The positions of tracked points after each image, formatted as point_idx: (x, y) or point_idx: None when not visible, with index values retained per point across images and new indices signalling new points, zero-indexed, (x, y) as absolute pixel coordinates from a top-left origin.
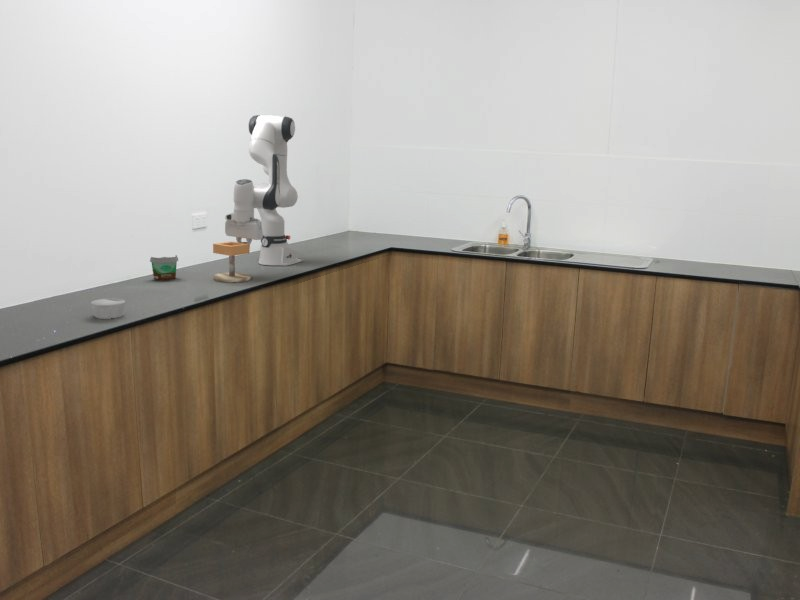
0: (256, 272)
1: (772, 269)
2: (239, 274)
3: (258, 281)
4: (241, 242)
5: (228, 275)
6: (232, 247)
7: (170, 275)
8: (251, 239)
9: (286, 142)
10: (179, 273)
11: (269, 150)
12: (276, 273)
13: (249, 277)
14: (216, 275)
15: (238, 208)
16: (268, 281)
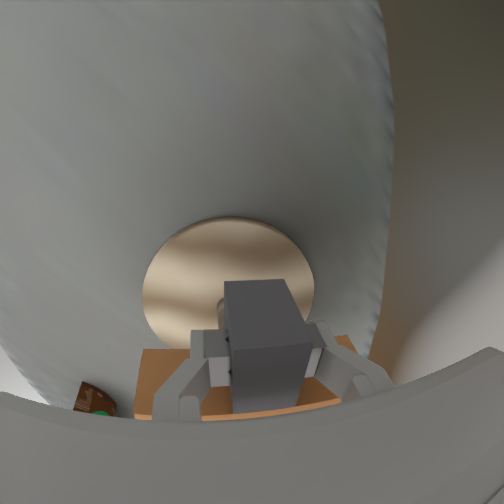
0: (184, 80)
1: None
2: (232, 265)
3: (350, 254)
4: (245, 395)
5: (212, 313)
6: None
7: (114, 415)
8: (388, 385)
9: None
10: (28, 337)
11: None
12: (294, 36)
13: (310, 270)
14: (178, 342)
15: None
16: (382, 227)
